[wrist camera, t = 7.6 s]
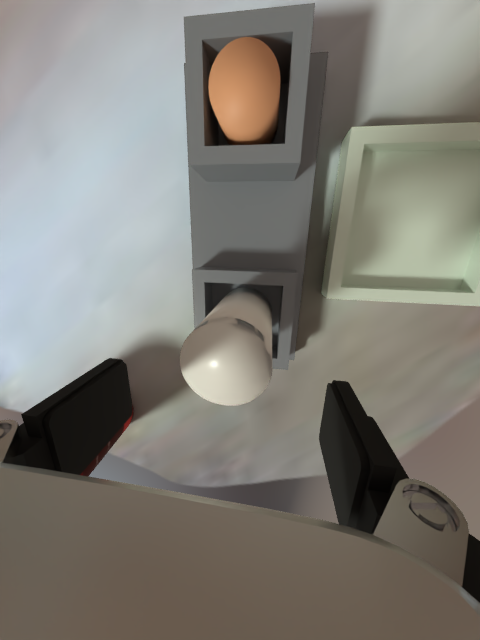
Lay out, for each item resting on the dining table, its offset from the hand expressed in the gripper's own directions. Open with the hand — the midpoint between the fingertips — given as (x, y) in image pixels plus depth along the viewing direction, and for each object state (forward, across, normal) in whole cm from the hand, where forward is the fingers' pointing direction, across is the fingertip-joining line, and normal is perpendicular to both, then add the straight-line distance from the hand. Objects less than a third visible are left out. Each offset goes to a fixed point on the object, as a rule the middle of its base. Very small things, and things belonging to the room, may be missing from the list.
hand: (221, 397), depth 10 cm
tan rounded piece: (+11, 0, -15) cm, 19 cm away
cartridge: (+12, 0, -1) cm, 12 cm away
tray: (+13, -13, -9) cm, 20 cm away
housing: (+13, 0, -8) cm, 15 cm away
